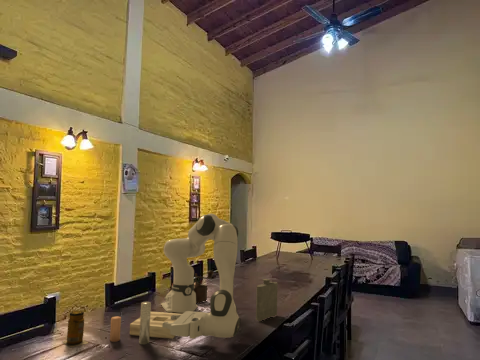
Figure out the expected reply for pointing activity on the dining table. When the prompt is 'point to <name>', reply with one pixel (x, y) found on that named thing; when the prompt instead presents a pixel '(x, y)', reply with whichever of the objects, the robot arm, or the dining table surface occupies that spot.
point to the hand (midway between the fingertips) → (167, 320)
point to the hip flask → (266, 300)
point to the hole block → (155, 325)
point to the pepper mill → (201, 288)
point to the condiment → (75, 329)
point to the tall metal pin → (145, 322)
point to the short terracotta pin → (115, 329)
